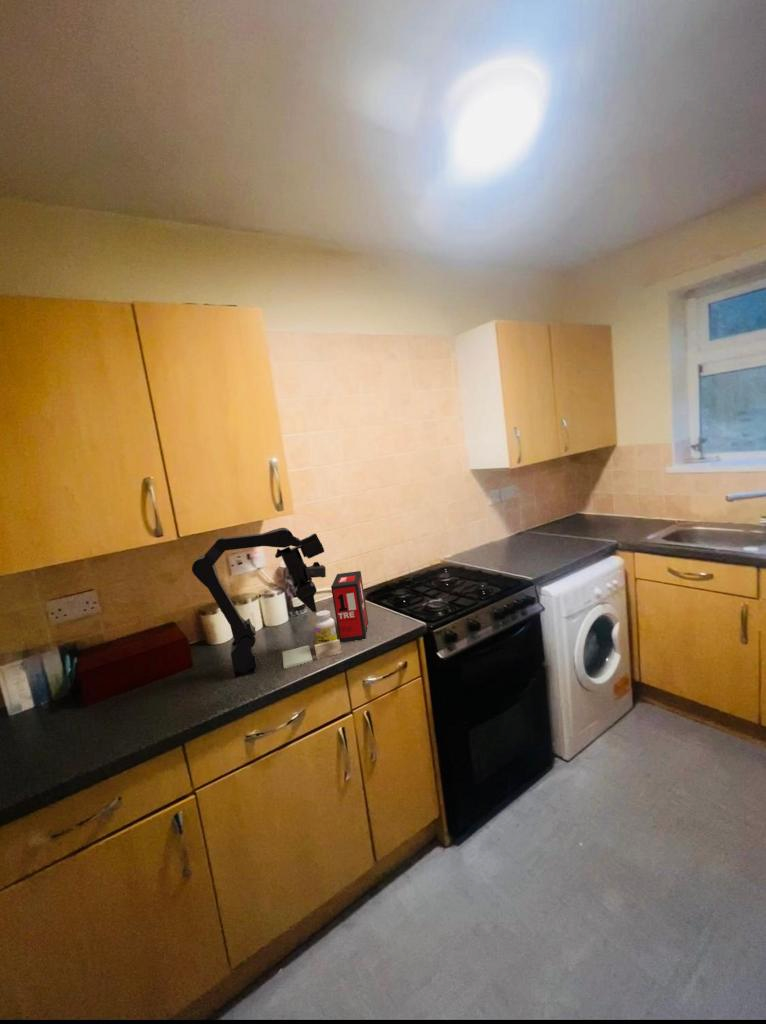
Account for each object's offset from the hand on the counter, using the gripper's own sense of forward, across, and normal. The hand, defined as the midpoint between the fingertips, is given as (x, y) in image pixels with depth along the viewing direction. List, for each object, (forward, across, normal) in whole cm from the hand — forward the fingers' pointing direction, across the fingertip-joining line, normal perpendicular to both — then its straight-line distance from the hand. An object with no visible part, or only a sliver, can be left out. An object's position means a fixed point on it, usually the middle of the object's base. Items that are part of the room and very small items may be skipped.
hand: (313, 608), depth 144 cm
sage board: (+13, 0, +11) cm, 17 cm away
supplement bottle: (+16, +1, +1) cm, 16 cm away
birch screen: (+16, -4, +1) cm, 16 cm away
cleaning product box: (+18, +11, -10) cm, 23 cm away
